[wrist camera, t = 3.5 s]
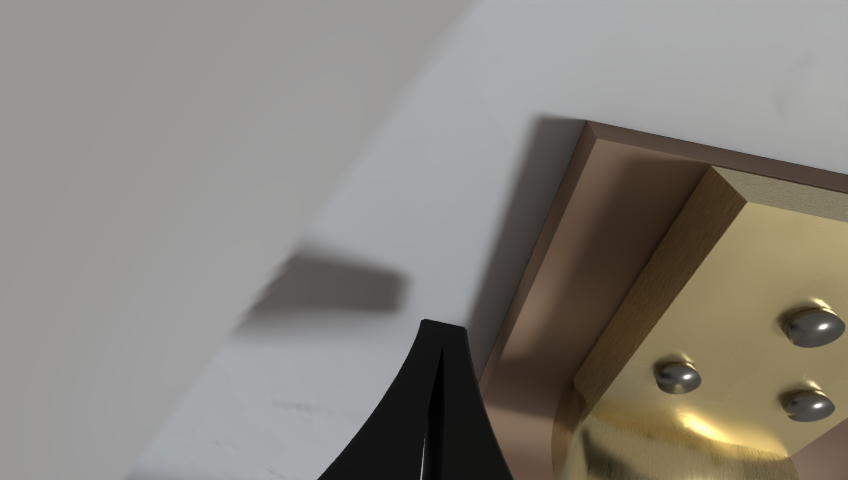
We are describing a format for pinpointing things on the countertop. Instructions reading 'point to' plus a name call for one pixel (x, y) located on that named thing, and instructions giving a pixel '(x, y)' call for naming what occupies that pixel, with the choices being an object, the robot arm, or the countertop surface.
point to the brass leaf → (719, 343)
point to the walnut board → (608, 281)
